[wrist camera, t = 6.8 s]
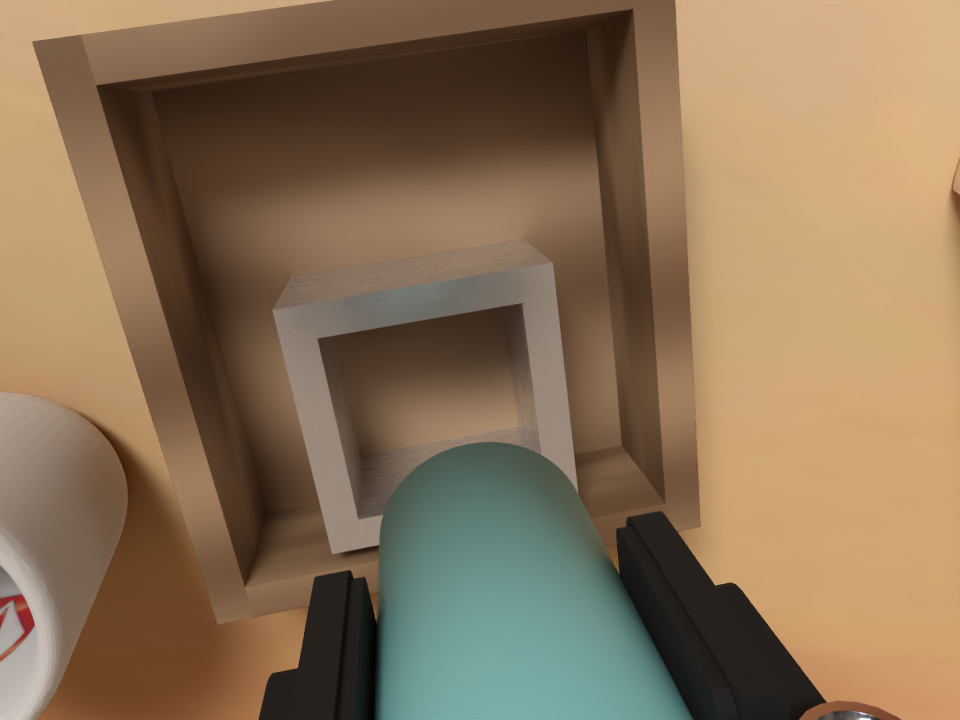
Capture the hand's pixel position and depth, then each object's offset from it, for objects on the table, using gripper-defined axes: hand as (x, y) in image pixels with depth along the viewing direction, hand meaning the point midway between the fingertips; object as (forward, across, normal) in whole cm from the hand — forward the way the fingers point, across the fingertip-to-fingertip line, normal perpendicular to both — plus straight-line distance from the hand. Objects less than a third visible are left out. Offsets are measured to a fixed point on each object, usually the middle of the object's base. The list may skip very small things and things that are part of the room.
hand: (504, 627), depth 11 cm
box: (+13, +1, -3) cm, 14 cm away
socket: (+13, +1, 0) cm, 13 cm away
